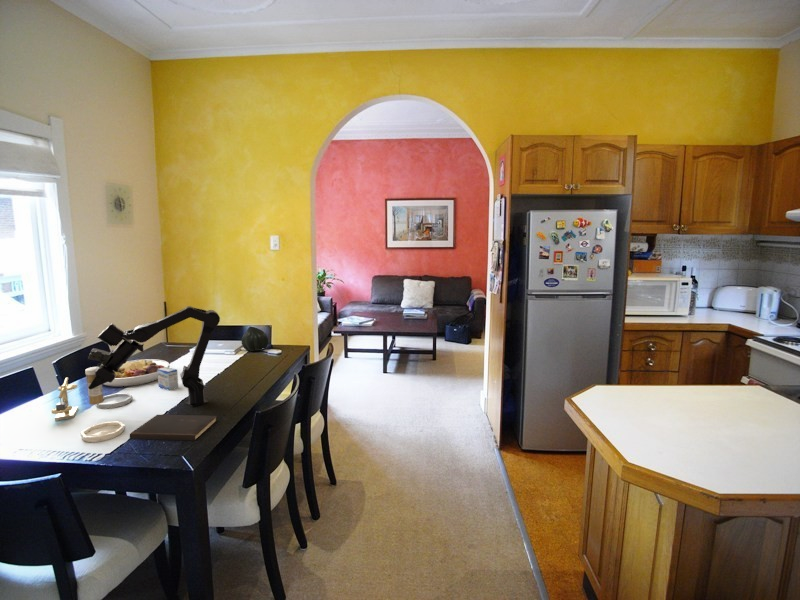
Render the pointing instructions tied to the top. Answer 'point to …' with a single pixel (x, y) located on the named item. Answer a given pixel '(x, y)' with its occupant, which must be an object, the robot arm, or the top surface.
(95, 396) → the sprinkles bottle
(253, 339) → the squash
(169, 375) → the medicine box
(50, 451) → the top surface
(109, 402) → the slate dish
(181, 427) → the hardcover book
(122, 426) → the cream dish
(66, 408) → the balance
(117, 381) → the bowl
